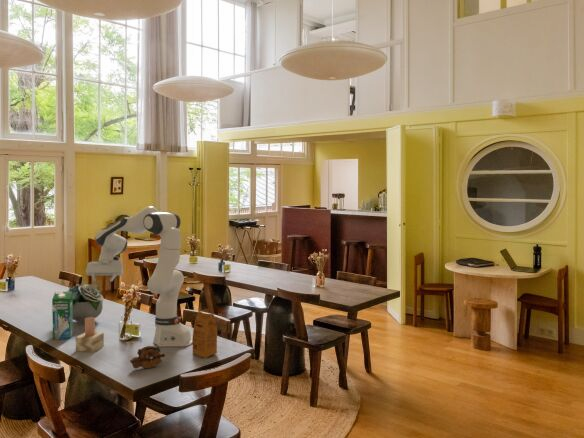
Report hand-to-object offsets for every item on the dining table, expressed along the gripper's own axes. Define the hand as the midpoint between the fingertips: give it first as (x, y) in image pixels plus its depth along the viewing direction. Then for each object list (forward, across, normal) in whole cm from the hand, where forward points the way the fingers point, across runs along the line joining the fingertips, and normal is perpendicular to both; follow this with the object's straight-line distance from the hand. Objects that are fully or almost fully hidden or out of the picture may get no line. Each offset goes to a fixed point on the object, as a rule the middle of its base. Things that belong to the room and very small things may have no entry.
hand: (102, 280), depth 285 cm
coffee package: (+48, +59, -4) cm, 77 cm away
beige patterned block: (+38, -1, +6) cm, 39 cm away
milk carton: (+24, -21, +21) cm, 38 cm away
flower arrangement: (+3, -18, +42) cm, 45 cm away
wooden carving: (+60, +34, -16) cm, 71 cm away
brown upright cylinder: (+33, -1, +1) cm, 33 cm away
